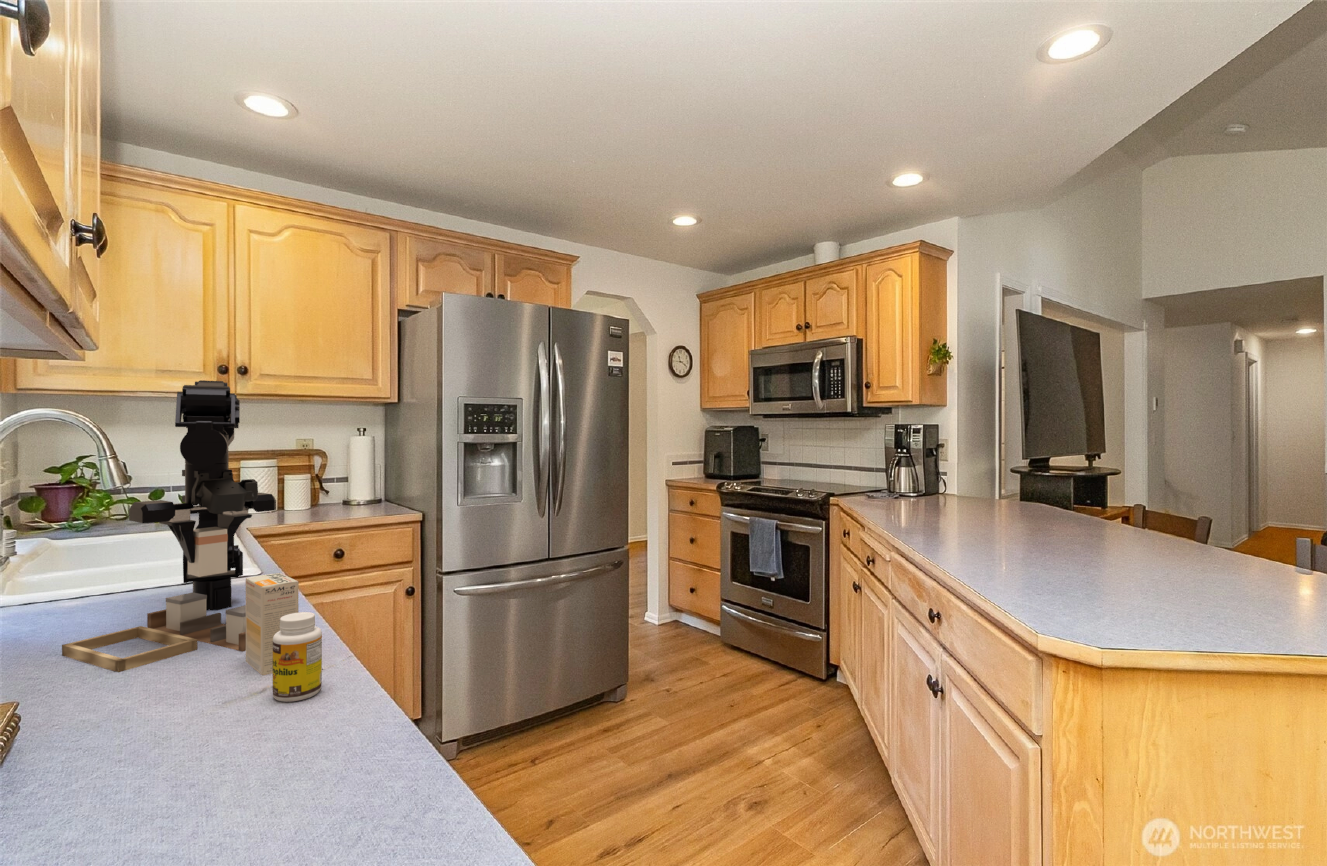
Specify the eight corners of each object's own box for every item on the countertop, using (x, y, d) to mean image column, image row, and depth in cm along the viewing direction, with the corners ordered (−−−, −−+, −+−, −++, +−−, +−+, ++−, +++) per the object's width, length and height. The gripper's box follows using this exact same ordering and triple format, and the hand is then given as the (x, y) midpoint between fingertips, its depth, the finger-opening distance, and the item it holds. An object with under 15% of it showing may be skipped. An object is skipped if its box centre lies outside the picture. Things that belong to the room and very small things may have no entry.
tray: (62, 661, 94) (61, 644, 94) (140, 641, 103) (140, 625, 103) (118, 679, 88) (118, 661, 88) (197, 655, 97) (197, 639, 97)
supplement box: (300, 673, 91) (300, 580, 91) (261, 683, 87) (261, 586, 87) (281, 658, 96) (281, 571, 96) (244, 667, 93) (244, 576, 93)
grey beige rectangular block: (165, 627, 107) (165, 598, 107) (192, 621, 111) (192, 592, 111) (180, 631, 105) (180, 600, 105) (206, 624, 109) (206, 595, 109)
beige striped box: (187, 573, 103) (187, 529, 103) (216, 568, 107) (215, 526, 107) (198, 576, 101) (198, 532, 101) (227, 572, 104) (227, 528, 104)
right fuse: (225, 641, 100) (225, 609, 100) (251, 634, 104) (251, 603, 104) (242, 645, 99) (242, 613, 99) (268, 637, 103) (268, 606, 102)
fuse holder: (147, 634, 107) (147, 613, 107) (192, 622, 113) (192, 603, 113) (242, 657, 96) (242, 634, 96) (287, 643, 103) (287, 621, 103)
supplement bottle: (261, 700, 82) (261, 620, 82) (298, 683, 87) (298, 608, 87) (296, 706, 80) (296, 624, 80) (331, 688, 85) (331, 612, 85)
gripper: (157, 468, 91) (158, 578, 91) (293, 462, 107) (293, 556, 107) (127, 465, 97) (127, 568, 98) (259, 460, 113) (259, 549, 113)
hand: (207, 560), depth 104 cm, fingers closed on beige striped box, 4 cm apart
